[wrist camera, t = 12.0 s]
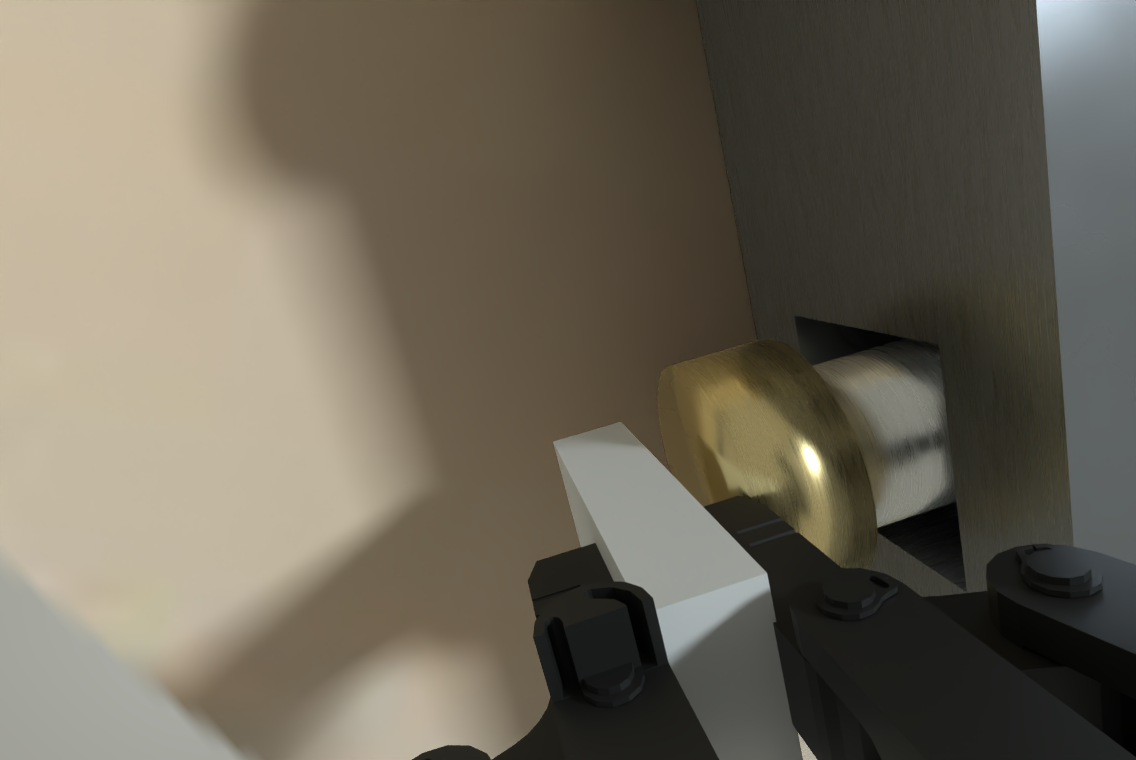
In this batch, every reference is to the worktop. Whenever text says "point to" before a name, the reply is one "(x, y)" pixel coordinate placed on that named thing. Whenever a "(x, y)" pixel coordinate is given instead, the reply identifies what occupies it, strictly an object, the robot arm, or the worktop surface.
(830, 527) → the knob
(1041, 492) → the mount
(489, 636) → the worktop surface
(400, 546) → the worktop surface
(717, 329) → the worktop surface
